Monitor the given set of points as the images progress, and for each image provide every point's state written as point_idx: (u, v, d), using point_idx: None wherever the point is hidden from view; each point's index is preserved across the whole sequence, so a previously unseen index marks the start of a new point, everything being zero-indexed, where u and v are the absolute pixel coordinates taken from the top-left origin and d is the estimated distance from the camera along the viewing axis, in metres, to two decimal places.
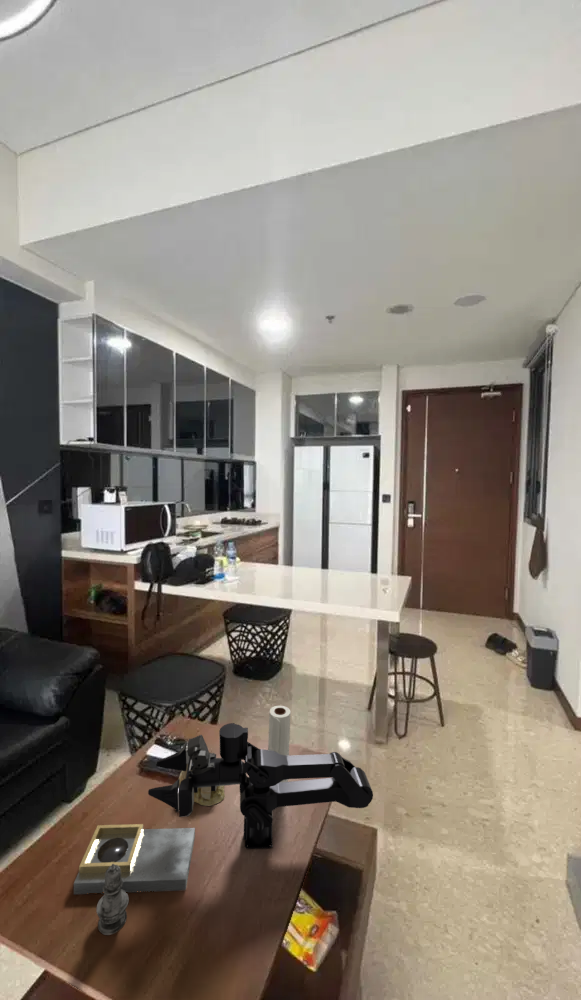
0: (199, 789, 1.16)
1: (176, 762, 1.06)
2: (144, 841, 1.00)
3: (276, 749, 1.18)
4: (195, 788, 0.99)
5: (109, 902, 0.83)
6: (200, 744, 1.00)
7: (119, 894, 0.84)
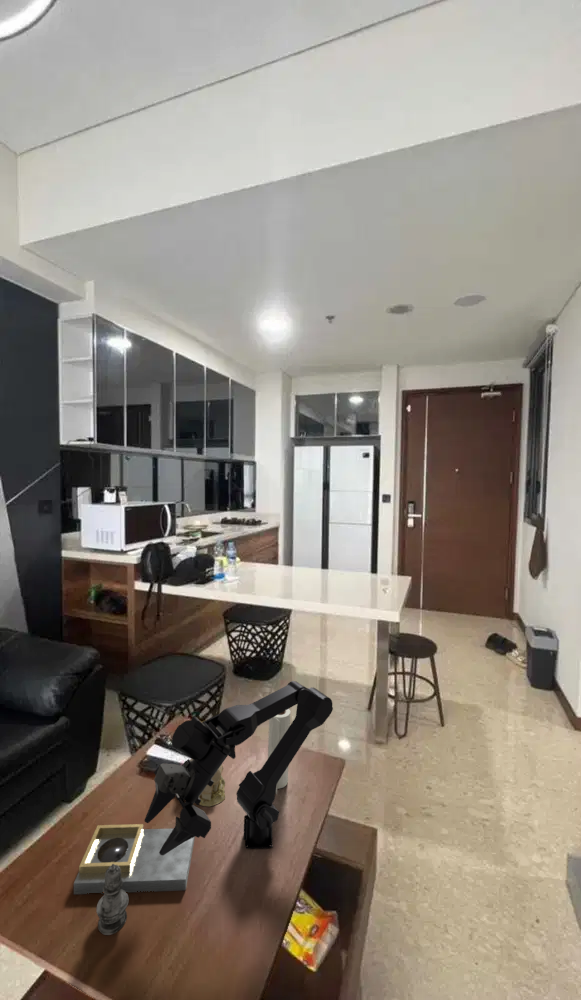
0: None
1: (162, 800, 0.94)
2: (144, 841, 1.00)
3: None
4: (196, 800, 0.91)
5: (110, 902, 0.83)
6: (166, 773, 0.87)
7: (119, 894, 0.84)
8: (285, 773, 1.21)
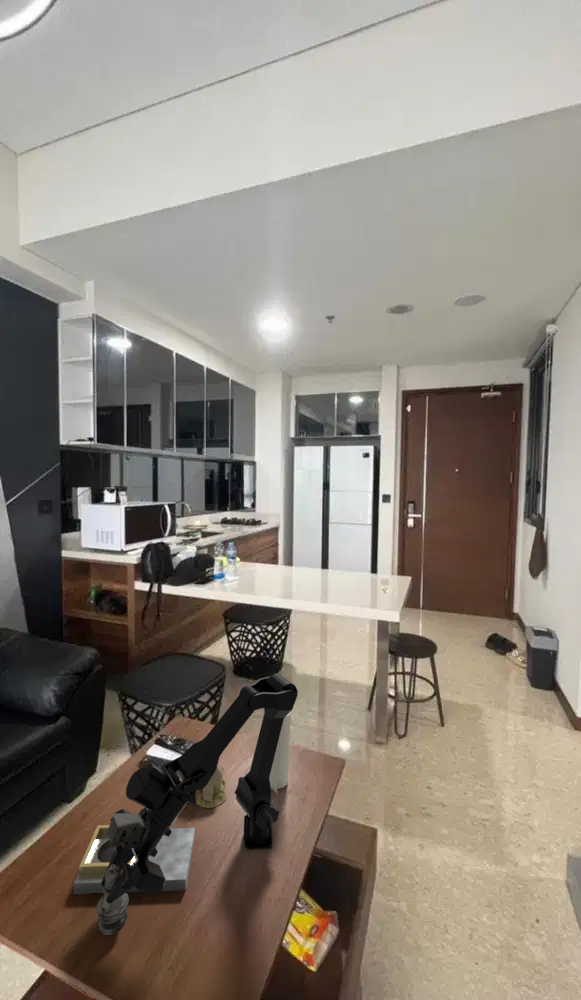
0: (200, 791, 1.16)
1: (121, 859, 0.87)
2: None
3: (276, 749, 1.18)
4: (152, 852, 0.86)
5: None
6: (119, 826, 0.82)
7: None
8: (285, 773, 1.21)
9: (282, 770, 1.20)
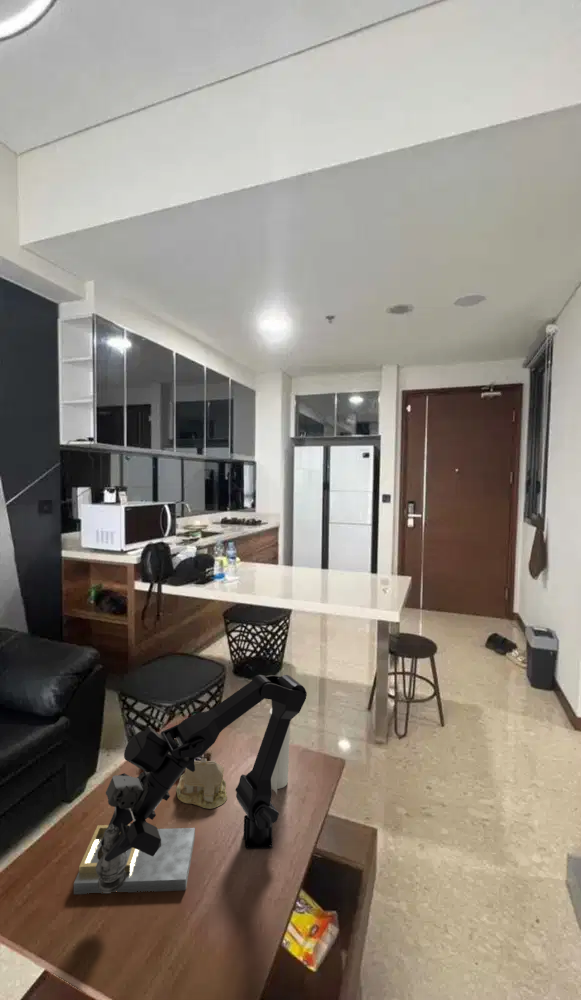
0: (201, 792, 1.15)
1: (121, 821, 0.88)
2: None
3: None
4: (150, 815, 0.87)
5: (108, 861, 0.84)
6: (116, 787, 0.83)
7: None
8: (285, 773, 1.21)
9: (282, 770, 1.20)
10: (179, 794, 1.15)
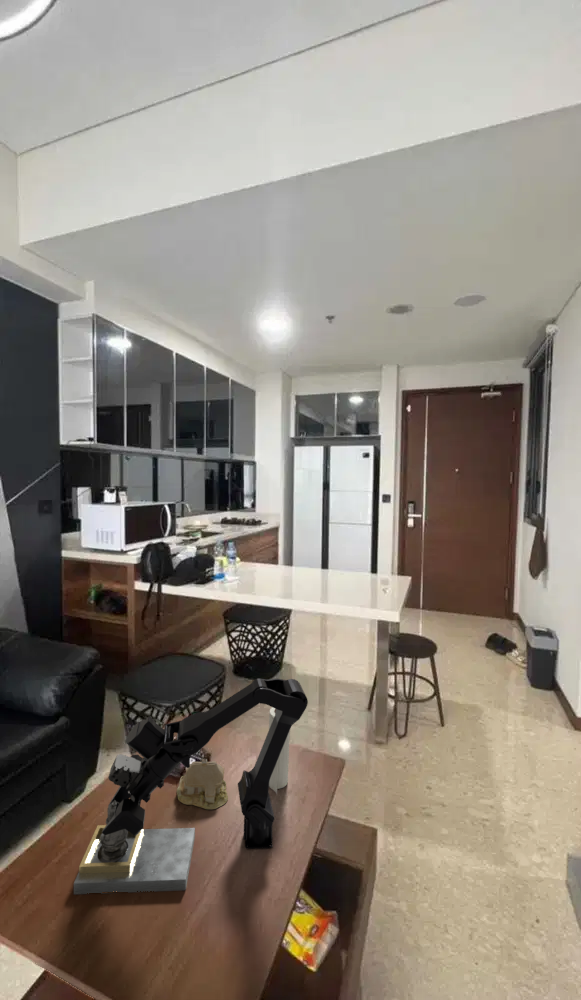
0: (202, 793, 1.15)
1: (126, 791, 1.01)
2: (144, 841, 1.00)
3: None
4: (145, 798, 0.95)
5: None
6: (116, 764, 0.94)
7: None
8: (285, 773, 1.21)
9: (282, 770, 1.20)
10: (180, 796, 1.15)
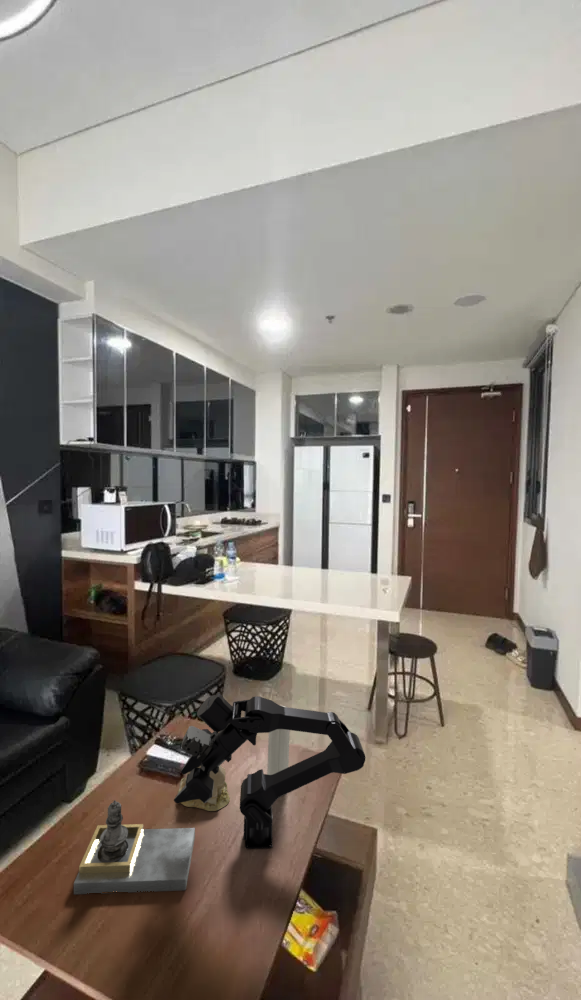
0: None
1: (197, 759, 1.07)
2: (144, 841, 1.00)
3: (276, 749, 1.18)
4: (214, 769, 1.00)
5: (109, 832, 0.95)
6: (188, 734, 1.00)
7: (118, 828, 0.96)
8: None
9: None
10: None
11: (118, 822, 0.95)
